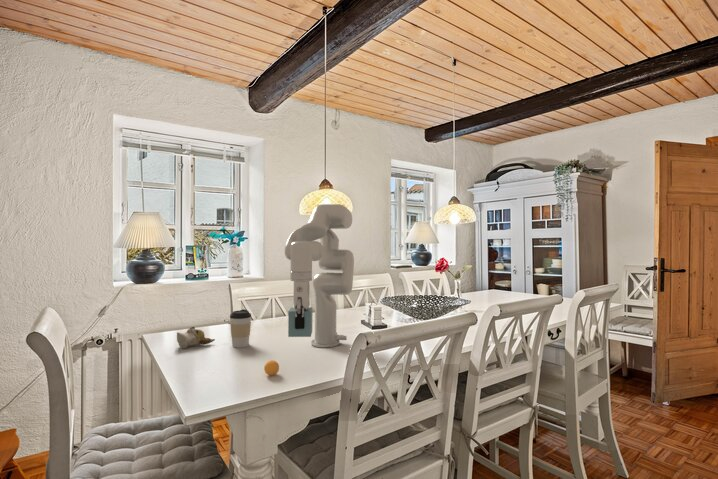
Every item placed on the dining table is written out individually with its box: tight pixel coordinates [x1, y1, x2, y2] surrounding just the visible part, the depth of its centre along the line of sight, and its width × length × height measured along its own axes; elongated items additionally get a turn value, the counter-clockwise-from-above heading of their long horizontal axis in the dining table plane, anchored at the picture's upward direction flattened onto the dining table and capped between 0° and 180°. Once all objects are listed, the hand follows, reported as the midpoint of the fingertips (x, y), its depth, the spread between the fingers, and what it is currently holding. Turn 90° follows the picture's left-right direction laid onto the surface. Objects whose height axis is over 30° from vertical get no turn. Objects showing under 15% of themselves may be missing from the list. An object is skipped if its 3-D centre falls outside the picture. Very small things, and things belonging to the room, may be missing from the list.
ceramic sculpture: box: [176, 326, 216, 350], centre depth 172 cm, size 11×9×15 cm
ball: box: [263, 359, 280, 377], centre depth 137 cm, size 5×5×5 cm
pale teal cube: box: [287, 306, 314, 338], centre depth 141 cm, size 8×8×9 cm
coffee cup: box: [229, 309, 252, 348], centre depth 174 cm, size 9×9×15 cm
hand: (300, 325), depth 141 cm, fingers closed on pale teal cube, 7 cm apart
